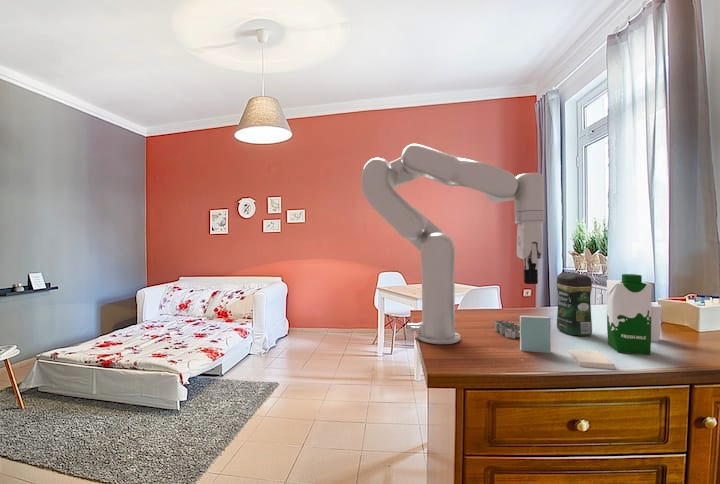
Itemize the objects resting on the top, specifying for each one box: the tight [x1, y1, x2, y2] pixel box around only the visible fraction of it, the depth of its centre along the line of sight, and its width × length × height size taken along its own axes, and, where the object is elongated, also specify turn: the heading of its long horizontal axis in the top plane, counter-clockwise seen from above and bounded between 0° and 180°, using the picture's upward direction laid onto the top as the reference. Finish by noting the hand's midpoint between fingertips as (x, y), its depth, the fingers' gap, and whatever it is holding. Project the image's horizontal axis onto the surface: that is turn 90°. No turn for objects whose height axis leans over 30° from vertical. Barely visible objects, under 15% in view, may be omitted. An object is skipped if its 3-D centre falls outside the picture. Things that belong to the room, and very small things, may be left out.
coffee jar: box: [556, 272, 593, 337], centre depth 108 cm, size 10×8×19 cm
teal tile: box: [519, 315, 552, 354], centre depth 91 cm, size 7×2×9 cm, turn 76°
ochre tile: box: [567, 349, 616, 370], centre depth 83 cm, size 7×2×9 cm
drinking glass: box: [651, 302, 662, 343], centre depth 101 cm, size 7×7×10 cm
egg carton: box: [493, 319, 520, 339], centre depth 107 cm, size 10×7×4 cm
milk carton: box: [606, 273, 653, 356], centre depth 91 cm, size 9×9×20 cm
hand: (530, 283), depth 97 cm, fingers closed
